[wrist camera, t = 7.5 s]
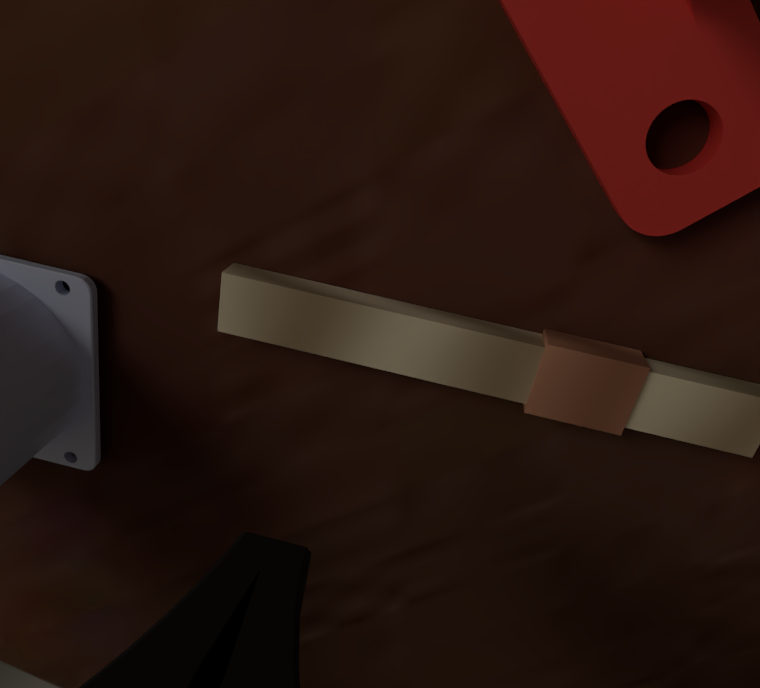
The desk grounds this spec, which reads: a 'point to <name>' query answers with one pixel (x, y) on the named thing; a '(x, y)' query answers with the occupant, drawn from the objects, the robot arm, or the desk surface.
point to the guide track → (495, 360)
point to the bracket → (652, 95)
